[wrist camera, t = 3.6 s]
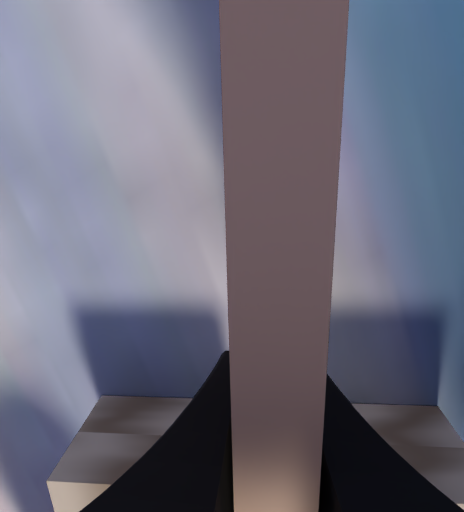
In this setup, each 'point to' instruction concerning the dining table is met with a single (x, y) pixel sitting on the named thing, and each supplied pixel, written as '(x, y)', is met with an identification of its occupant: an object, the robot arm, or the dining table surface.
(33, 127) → the dining table surface
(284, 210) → the tan thin board
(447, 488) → the slotted rail
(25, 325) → the dining table surface
